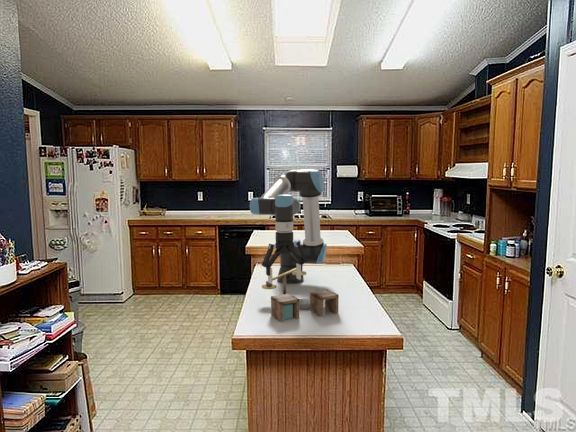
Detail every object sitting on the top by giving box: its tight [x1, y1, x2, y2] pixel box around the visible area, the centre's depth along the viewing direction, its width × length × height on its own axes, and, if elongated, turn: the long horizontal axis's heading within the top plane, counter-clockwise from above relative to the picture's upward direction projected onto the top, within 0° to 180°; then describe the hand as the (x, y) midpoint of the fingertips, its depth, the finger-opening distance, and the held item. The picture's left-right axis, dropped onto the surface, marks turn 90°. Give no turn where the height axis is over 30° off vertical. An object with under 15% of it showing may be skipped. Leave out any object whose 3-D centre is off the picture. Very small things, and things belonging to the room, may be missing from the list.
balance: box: [261, 268, 307, 295], centre depth 193 cm, size 8×23×16 cm, turn 117°
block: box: [283, 303, 294, 321], centre depth 171 cm, size 5×5×6 cm
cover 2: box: [309, 289, 339, 318], centre depth 177 cm, size 9×9×8 cm
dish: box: [298, 298, 310, 311], centre depth 186 cm, size 12×12×1 cm
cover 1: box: [270, 293, 300, 323], centre depth 171 cm, size 9×9×8 cm
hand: (284, 280), depth 170 cm, fingers open, 13 cm apart
